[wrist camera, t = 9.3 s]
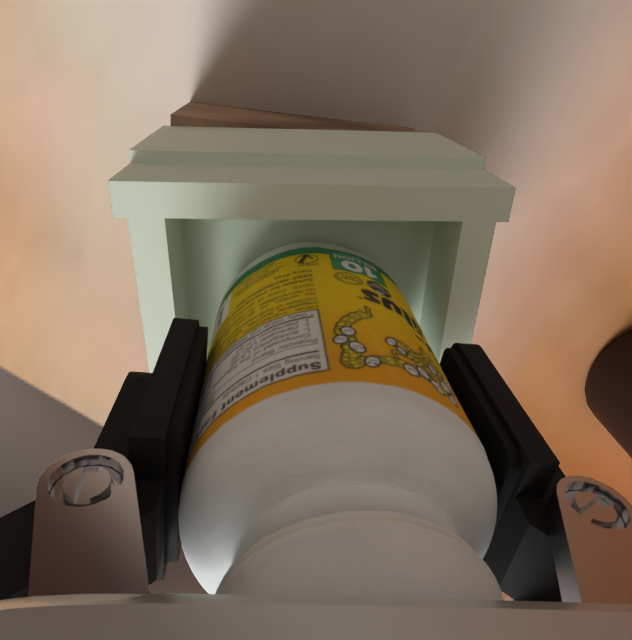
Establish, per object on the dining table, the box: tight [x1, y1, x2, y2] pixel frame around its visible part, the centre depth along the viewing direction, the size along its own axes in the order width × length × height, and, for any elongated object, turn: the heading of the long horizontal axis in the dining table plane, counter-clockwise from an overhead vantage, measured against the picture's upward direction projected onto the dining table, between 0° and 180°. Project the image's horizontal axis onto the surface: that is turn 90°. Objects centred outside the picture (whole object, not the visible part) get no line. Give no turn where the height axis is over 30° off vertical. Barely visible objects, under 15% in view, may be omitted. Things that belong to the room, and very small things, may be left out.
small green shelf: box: [108, 126, 516, 373], centre depth 16 cm, size 9×9×6 cm
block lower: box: [171, 102, 417, 132], centre depth 21 cm, size 9×9×4 cm
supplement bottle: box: [178, 242, 504, 600], centre depth 10 cm, size 5×5×10 cm
